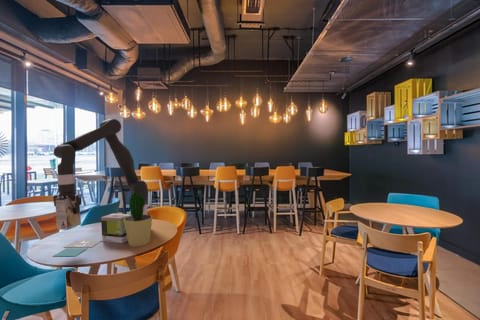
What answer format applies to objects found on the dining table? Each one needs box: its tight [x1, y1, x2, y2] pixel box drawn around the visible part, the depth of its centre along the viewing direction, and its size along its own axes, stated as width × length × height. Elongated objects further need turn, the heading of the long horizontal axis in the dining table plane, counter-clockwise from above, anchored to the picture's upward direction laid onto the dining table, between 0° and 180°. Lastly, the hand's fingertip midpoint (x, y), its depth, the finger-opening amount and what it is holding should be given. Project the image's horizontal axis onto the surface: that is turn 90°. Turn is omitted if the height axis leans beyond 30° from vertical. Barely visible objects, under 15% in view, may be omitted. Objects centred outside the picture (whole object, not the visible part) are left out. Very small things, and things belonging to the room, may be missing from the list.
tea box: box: [100, 212, 132, 244], centre depth 159 cm, size 15×10×15 cm
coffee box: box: [55, 197, 82, 231], centre depth 140 cm, size 9×6×16 cm
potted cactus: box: [124, 191, 153, 248], centre depth 152 cm, size 15×15×30 cm
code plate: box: [63, 240, 102, 249], centre depth 153 cm, size 16×10×1 cm, turn 87°
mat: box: [52, 247, 89, 258], centre depth 141 cm, size 12×10×1 cm
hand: (68, 214), depth 140 cm, fingers closed on coffee box, 7 cm apart
